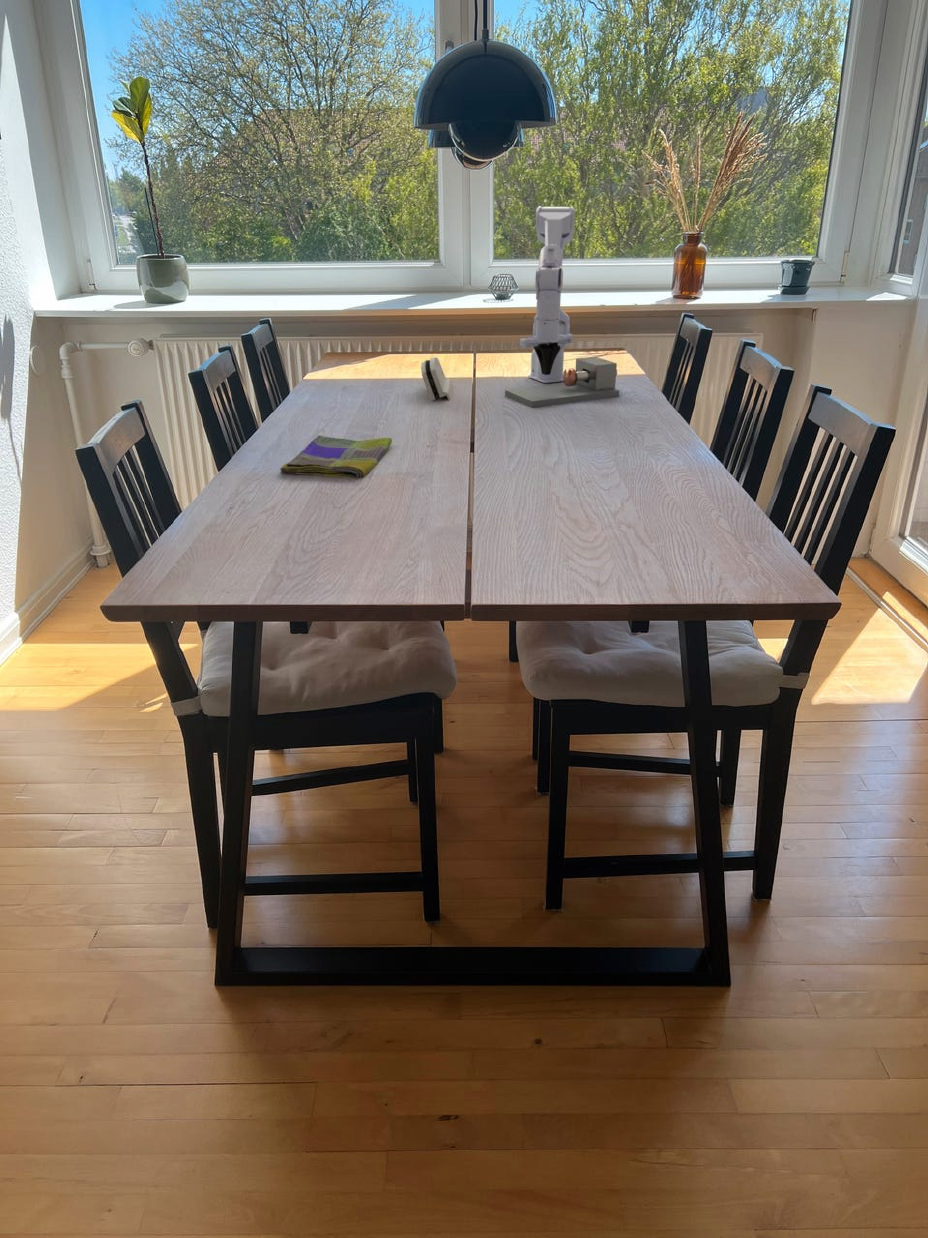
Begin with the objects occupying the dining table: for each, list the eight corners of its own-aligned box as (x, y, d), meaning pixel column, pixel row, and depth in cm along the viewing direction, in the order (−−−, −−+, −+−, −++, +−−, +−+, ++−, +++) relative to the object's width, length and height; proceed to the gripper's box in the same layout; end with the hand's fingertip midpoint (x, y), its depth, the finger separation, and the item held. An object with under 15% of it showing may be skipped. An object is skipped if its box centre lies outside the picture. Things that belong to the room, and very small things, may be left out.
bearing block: (574, 383, 248) (576, 358, 245) (593, 381, 250) (595, 356, 247) (595, 391, 240) (597, 365, 237) (615, 388, 242) (616, 363, 239)
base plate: (504, 395, 242) (505, 389, 241) (589, 385, 252) (589, 379, 252) (531, 407, 231) (531, 401, 230) (619, 395, 241) (619, 390, 240)
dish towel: (396, 447, 202) (396, 435, 201) (361, 482, 181) (361, 468, 179) (320, 443, 205) (319, 431, 204) (277, 477, 184) (276, 463, 183)
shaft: (562, 384, 243) (563, 367, 241) (609, 378, 248) (610, 362, 246) (571, 387, 239) (572, 370, 237) (618, 382, 245) (620, 365, 243)
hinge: (450, 400, 238) (436, 362, 234) (433, 406, 239) (418, 369, 235) (453, 385, 253) (439, 350, 249) (436, 391, 254) (423, 356, 250)
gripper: (530, 323, 225) (528, 380, 231) (581, 318, 230) (578, 374, 237) (516, 319, 230) (515, 374, 237) (566, 314, 236) (564, 368, 242)
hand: (546, 373), depth 237 cm, fingers closed
